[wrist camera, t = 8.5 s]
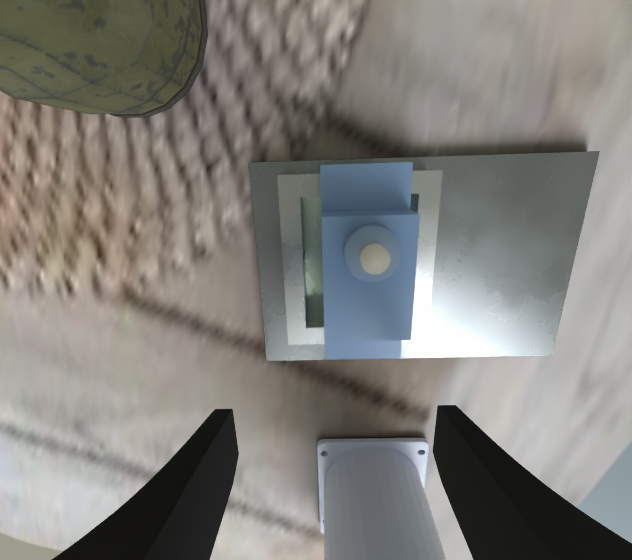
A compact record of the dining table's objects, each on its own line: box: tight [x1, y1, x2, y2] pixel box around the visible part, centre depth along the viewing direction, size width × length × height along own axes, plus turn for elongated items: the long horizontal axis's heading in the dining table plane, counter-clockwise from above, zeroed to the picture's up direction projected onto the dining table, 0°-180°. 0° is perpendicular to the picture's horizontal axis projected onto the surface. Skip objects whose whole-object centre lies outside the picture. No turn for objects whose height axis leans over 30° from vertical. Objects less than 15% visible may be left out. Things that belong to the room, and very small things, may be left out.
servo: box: [320, 162, 420, 360], centre depth 15 cm, size 9×4×7 cm, turn 2°
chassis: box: [249, 151, 600, 361], centre depth 18 cm, size 12×18×3 cm, turn 92°
